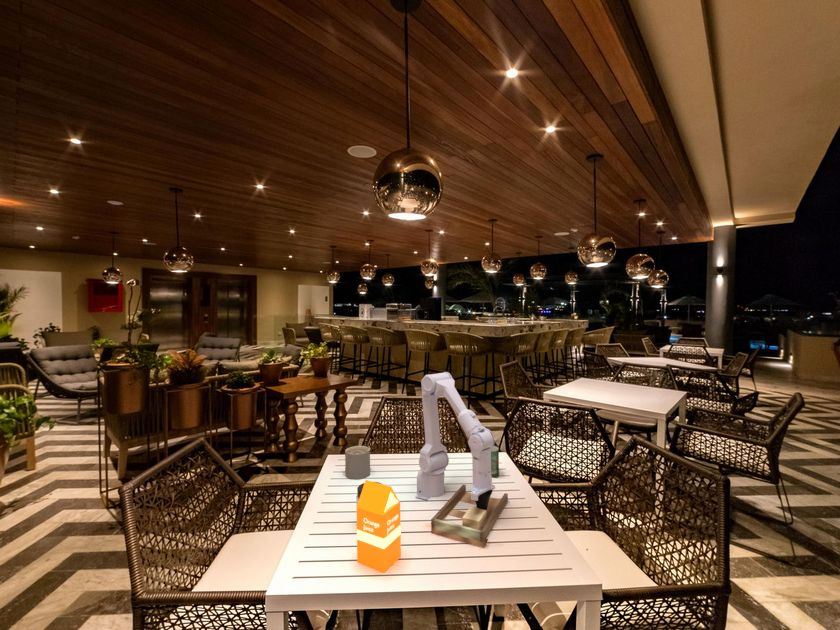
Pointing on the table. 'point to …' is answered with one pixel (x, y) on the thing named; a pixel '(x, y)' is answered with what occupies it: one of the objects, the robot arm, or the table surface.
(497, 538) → the table surface
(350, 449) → the coffee mug
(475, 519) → the maple block
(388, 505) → the orange juice
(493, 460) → the canned tomato
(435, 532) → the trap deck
